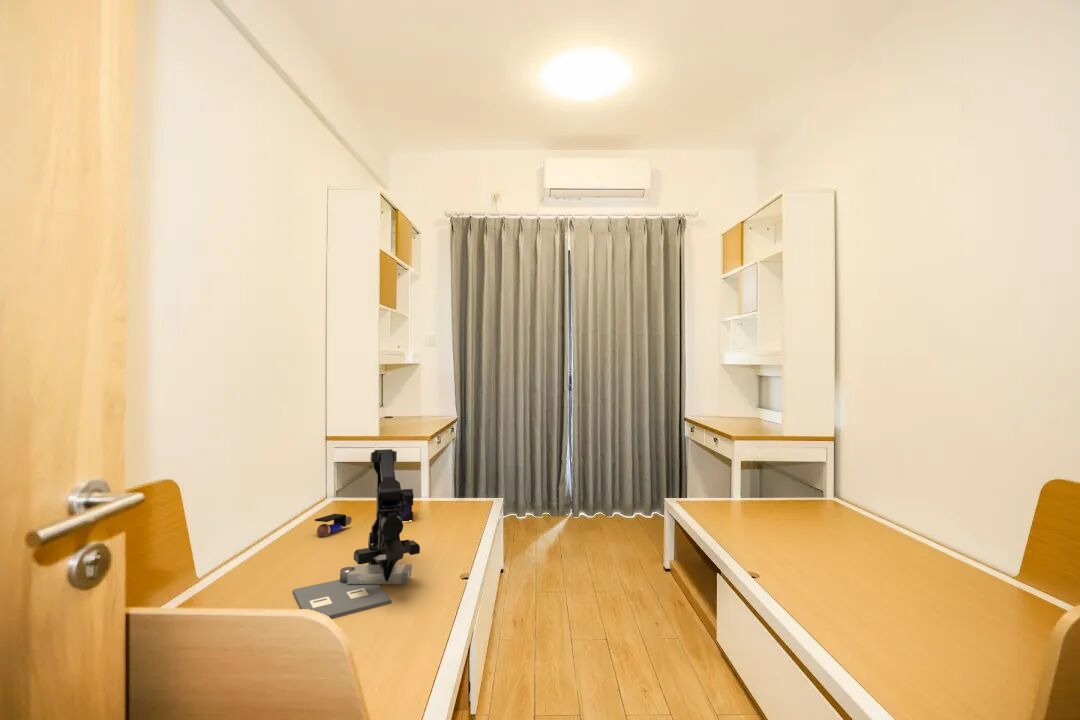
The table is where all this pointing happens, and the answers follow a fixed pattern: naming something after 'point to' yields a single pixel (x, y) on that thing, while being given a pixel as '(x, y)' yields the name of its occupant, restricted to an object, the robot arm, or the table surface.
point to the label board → (340, 597)
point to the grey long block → (375, 574)
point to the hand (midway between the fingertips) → (386, 580)
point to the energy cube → (407, 506)
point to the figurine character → (339, 523)
